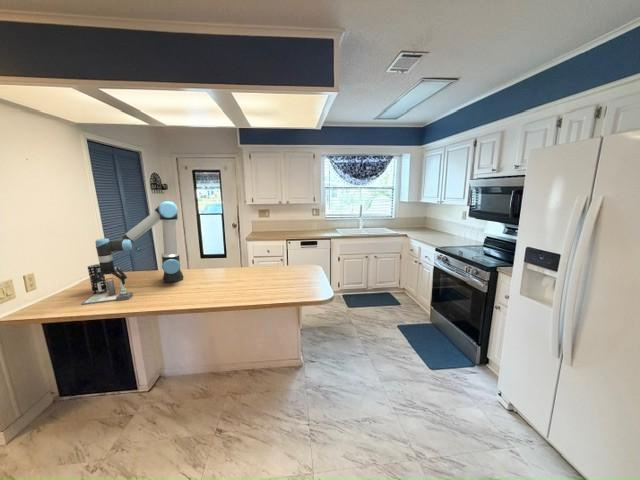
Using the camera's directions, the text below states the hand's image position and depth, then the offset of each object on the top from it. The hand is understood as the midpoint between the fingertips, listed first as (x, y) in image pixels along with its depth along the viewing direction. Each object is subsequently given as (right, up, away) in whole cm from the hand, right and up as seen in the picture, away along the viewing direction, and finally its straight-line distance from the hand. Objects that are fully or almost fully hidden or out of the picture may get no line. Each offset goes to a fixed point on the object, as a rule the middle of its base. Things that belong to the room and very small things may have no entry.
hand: (111, 290), depth 188 cm
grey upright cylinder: (0, -3, +1) cm, 4 cm away
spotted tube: (-16, -3, +10) cm, 19 cm away
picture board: (-3, -5, -2) cm, 7 cm away
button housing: (+12, -5, -3) cm, 13 cm away
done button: (+12, -3, -4) cm, 13 cm away
